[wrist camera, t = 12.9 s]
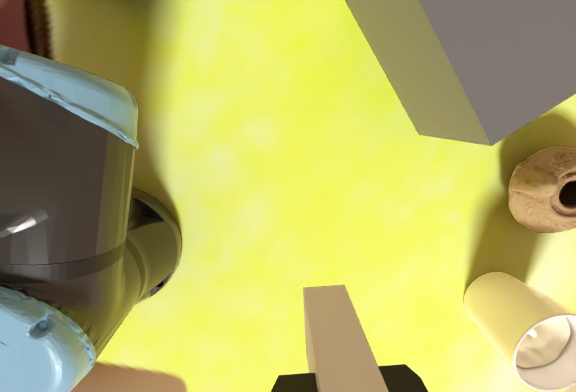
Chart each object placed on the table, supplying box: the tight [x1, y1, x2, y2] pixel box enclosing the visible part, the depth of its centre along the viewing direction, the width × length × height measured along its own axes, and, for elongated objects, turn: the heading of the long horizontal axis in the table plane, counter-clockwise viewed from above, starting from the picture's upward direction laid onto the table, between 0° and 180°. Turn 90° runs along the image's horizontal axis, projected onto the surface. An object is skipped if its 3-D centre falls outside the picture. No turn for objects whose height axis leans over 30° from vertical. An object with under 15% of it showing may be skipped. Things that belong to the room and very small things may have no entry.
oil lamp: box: [508, 146, 576, 233], centre depth 42 cm, size 11×15×8 cm
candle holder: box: [464, 272, 576, 391], centre depth 44 cm, size 10×10×12 cm
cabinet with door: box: [346, 0, 576, 146], centre depth 33 cm, size 20×18×16 cm
